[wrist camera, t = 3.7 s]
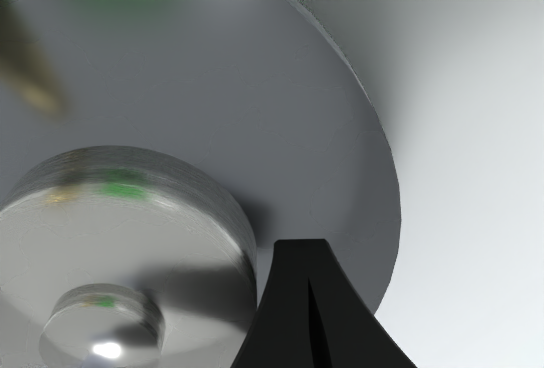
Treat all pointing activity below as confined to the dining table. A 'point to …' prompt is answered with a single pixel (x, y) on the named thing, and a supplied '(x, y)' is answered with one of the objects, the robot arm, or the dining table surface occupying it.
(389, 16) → the dining table surface
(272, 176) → the turntable
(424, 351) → the dining table surface
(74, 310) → the cover
